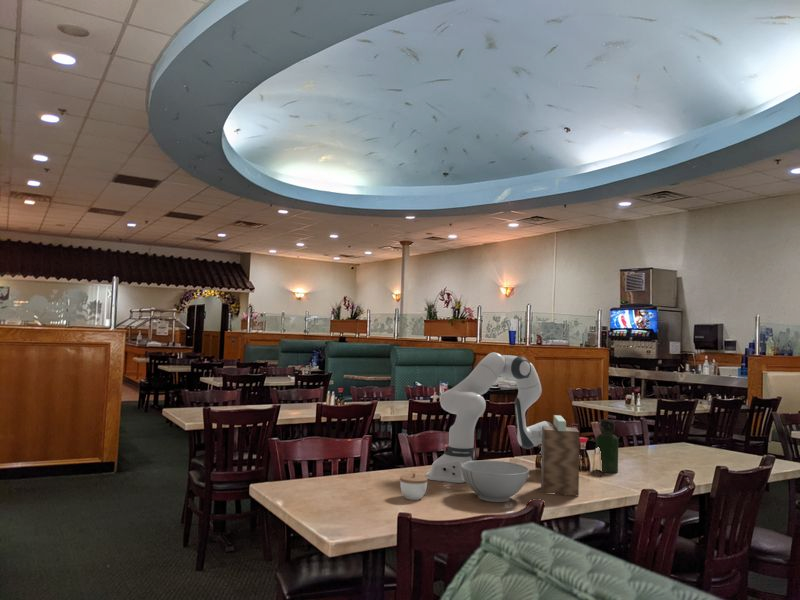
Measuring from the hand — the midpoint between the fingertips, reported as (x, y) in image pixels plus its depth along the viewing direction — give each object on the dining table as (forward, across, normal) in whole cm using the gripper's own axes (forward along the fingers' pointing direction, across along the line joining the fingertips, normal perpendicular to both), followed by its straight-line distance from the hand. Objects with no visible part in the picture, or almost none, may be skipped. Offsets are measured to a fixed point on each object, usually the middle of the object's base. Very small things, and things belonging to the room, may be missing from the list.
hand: (555, 430), depth 278 cm
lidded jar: (+32, -58, +44) cm, 80 cm away
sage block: (+18, 0, +6) cm, 19 cm away
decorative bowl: (+24, -27, +40) cm, 54 cm away
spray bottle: (-36, +28, +5) cm, 46 cm away
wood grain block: (+8, 0, +30) cm, 31 cm away
